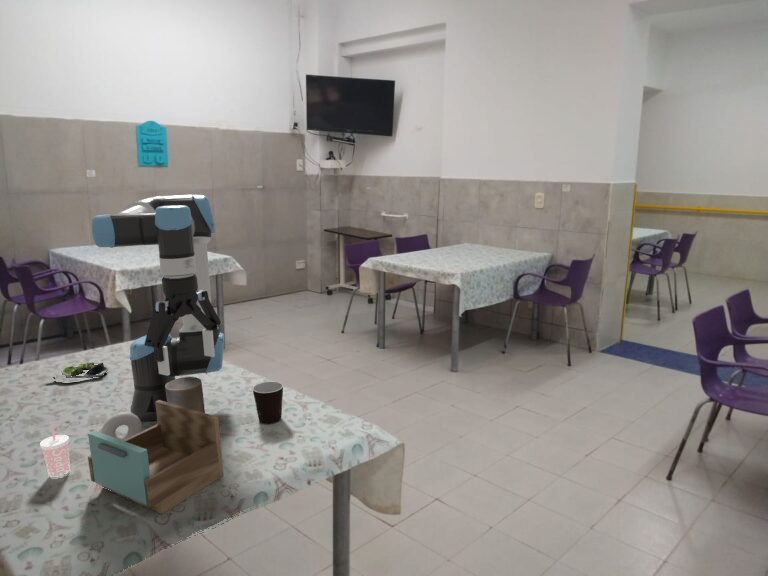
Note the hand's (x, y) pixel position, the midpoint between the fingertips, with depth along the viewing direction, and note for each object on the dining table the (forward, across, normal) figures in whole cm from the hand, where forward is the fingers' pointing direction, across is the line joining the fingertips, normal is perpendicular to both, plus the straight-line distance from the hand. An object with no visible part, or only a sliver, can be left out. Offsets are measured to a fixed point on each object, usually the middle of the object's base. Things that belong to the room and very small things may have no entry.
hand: (188, 364), depth 132 cm
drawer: (+27, -8, +4) cm, 28 cm away
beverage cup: (+27, -17, +29) cm, 43 cm away
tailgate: (+24, -18, +4) cm, 30 cm away
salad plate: (+27, +29, +87) cm, 96 cm away
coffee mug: (+27, +31, +3) cm, 42 cm away
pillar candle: (+27, +15, +20) cm, 37 cm away
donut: (+27, -1, +26) cm, 38 cm away
